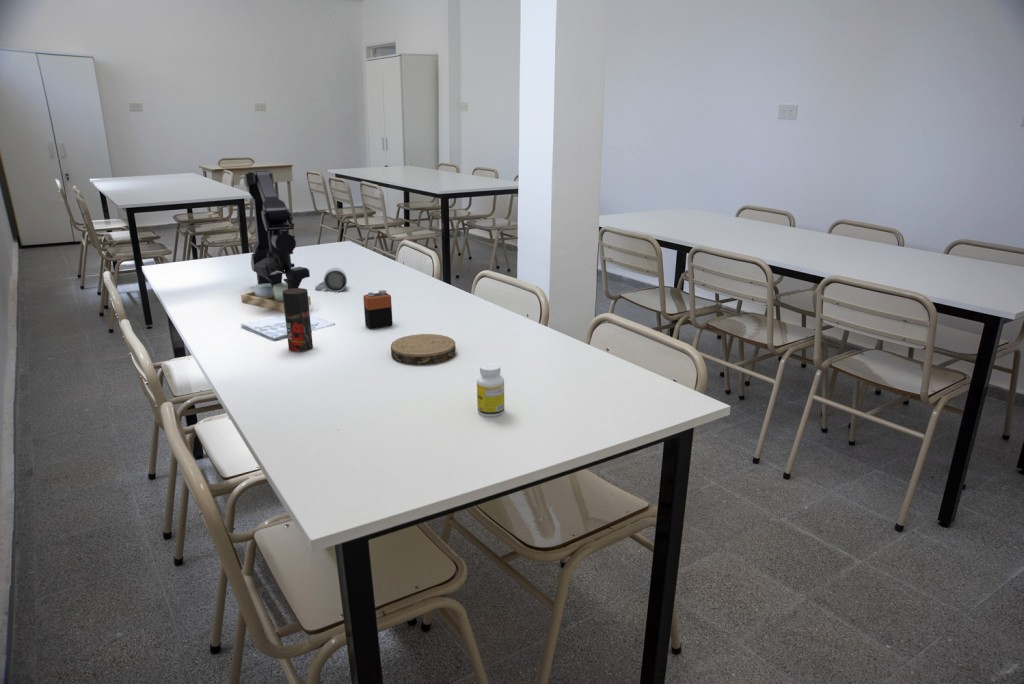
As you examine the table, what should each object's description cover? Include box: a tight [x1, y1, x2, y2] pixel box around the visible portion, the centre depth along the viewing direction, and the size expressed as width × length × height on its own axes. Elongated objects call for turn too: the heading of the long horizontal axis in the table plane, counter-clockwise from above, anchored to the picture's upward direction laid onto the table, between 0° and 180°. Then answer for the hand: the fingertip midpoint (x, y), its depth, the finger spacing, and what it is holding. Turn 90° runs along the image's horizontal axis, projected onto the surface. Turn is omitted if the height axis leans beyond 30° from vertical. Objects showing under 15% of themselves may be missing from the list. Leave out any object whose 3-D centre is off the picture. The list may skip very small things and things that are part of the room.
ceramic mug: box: [314, 267, 348, 293], centre depth 227 cm, size 11×8×8 cm
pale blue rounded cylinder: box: [253, 283, 274, 298], centre depth 211 cm, size 6×6×5 cm
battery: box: [362, 289, 394, 330], centre depth 186 cm, size 4×7×10 cm, turn 121°
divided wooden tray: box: [240, 291, 312, 313], centre depth 209 cm, size 20×10×3 cm, turn 56°
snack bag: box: [240, 314, 336, 341], centre depth 188 cm, size 19×20×2 cm
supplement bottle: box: [476, 362, 505, 418], centre depth 131 cm, size 5×5×10 cm
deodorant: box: [282, 287, 314, 353], centre depth 167 cm, size 6×6×15 cm
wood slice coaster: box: [390, 333, 457, 366], centre depth 165 cm, size 16×16×3 cm
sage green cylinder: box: [273, 282, 288, 303], centre depth 205 cm, size 6×6×5 cm
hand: (285, 297), depth 206 cm, fingers closed on sage green cylinder, 6 cm apart
